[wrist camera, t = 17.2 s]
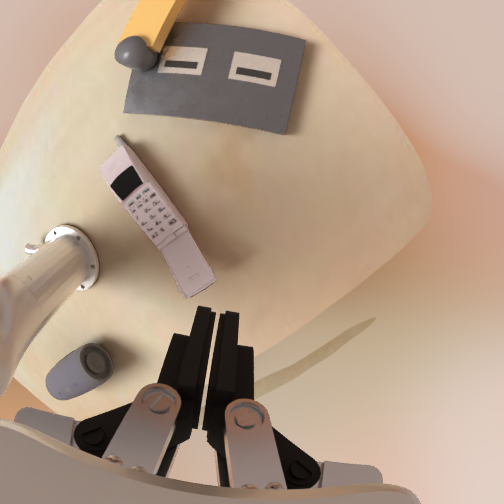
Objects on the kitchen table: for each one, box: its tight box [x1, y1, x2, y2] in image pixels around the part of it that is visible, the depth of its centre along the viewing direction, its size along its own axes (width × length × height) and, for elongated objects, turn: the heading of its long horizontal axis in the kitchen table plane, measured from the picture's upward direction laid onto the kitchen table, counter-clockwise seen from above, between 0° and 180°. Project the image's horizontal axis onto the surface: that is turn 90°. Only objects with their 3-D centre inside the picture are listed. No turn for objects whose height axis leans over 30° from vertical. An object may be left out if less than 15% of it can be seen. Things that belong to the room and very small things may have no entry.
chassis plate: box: [123, 23, 306, 135], centre depth 30 cm, size 22×14×2 cm, turn 78°
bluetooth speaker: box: [46, 343, 113, 400], centre depth 48 cm, size 23×9×10 cm, turn 126°
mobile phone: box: [99, 135, 216, 299], centre depth 36 cm, size 6×6×25 cm
